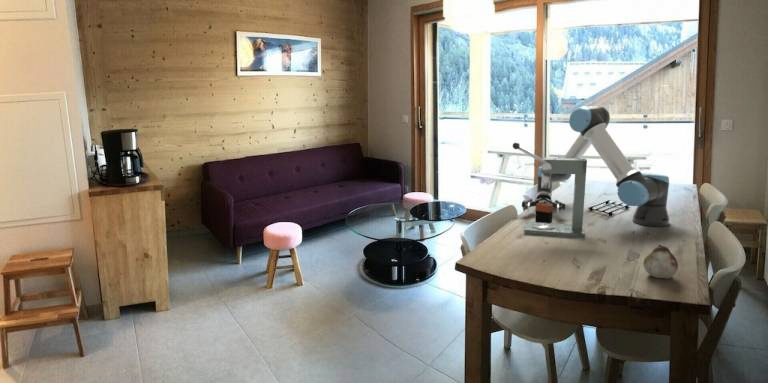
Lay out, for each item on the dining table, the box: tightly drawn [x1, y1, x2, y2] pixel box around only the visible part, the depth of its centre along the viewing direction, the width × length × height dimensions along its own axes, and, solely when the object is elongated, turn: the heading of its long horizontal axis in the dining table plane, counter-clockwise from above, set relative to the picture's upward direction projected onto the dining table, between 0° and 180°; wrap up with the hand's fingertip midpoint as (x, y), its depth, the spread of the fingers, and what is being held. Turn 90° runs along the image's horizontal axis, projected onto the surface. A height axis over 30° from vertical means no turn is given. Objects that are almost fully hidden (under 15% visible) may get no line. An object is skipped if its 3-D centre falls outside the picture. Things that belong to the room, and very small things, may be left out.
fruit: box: [643, 244, 679, 279], centre depth 166 cm, size 10×9×12 cm
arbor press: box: [512, 141, 588, 239], centre depth 216 cm, size 32×14×40 cm, turn 72°
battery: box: [534, 201, 554, 223], centre depth 233 cm, size 4×7×10 cm, turn 48°
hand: (543, 209), depth 235 cm, fingers open, 13 cm apart
